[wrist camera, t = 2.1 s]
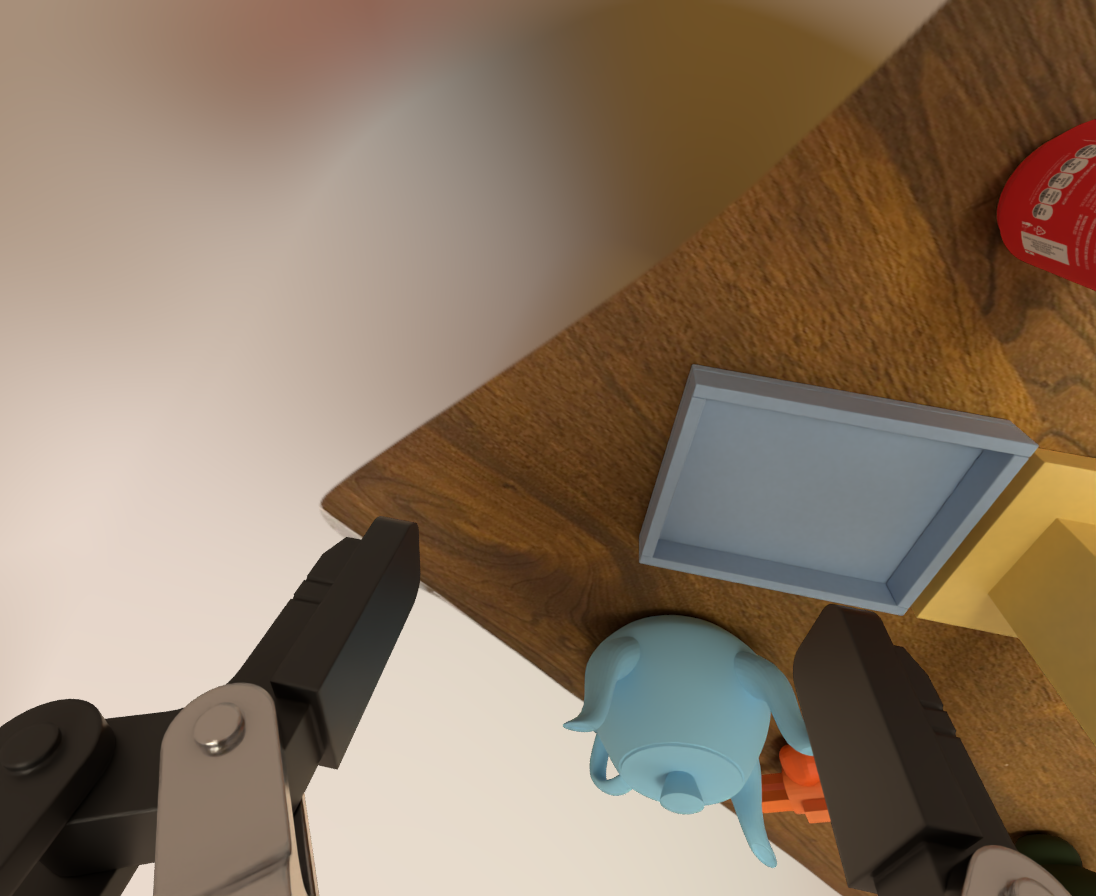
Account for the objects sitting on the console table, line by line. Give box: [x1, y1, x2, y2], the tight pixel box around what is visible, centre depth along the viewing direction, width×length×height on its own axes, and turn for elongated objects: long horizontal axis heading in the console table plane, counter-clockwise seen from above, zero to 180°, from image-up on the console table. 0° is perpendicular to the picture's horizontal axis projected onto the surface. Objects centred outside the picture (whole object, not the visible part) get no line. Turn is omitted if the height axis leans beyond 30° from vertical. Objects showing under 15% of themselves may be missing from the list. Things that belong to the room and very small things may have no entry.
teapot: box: [563, 615, 813, 868], centre depth 36 cm, size 15×15×10 cm
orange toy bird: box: [761, 744, 831, 823], centre depth 42 cm, size 5×8×12 cm
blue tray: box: [639, 364, 1038, 616], centre depth 29 cm, size 12×16×2 cm
